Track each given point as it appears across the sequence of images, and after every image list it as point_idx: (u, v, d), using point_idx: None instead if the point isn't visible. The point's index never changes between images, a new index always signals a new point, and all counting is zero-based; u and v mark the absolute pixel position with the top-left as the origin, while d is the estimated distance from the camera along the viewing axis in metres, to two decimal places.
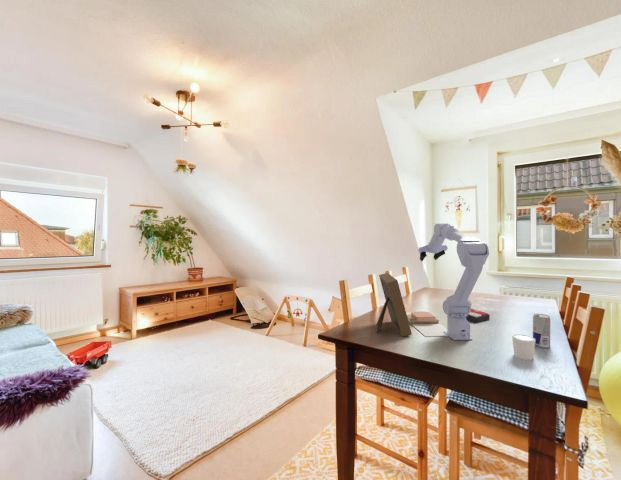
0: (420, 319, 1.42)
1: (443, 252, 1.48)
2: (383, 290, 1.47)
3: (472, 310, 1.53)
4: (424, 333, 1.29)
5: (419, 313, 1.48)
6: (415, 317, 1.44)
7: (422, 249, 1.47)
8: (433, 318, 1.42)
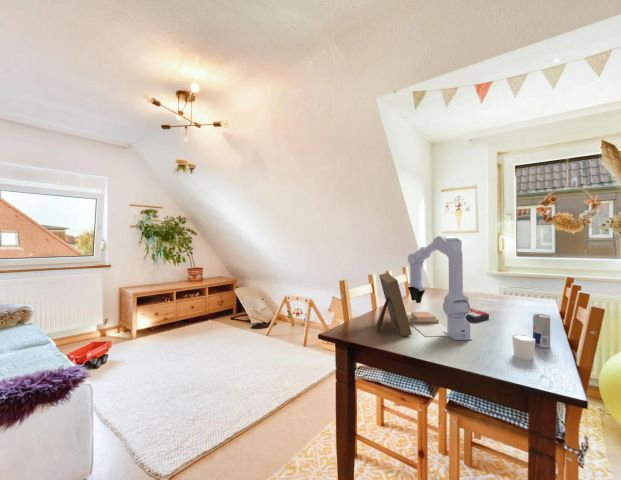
0: (420, 319, 1.42)
1: None
2: (383, 290, 1.47)
3: (472, 310, 1.53)
4: (424, 333, 1.29)
5: (419, 313, 1.48)
6: (415, 317, 1.44)
7: (420, 286, 1.48)
8: (433, 318, 1.42)
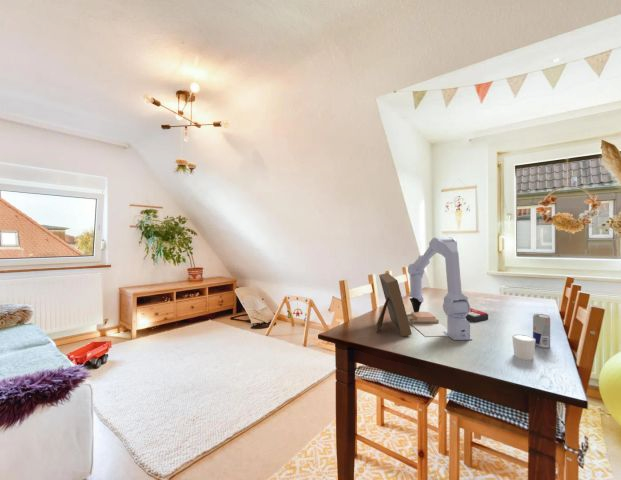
0: (420, 319, 1.42)
1: None
2: (383, 290, 1.47)
3: (471, 310, 1.54)
4: (424, 333, 1.29)
5: (419, 313, 1.48)
6: (415, 317, 1.44)
7: (420, 297, 1.49)
8: (433, 318, 1.42)
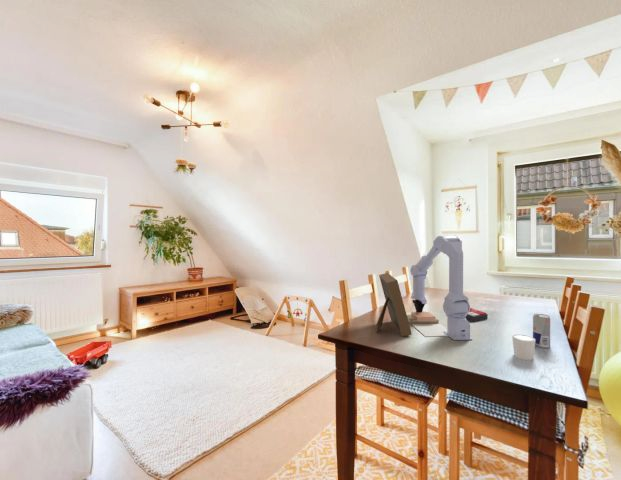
0: (420, 319, 1.42)
1: None
2: (383, 290, 1.47)
3: (470, 309, 1.54)
4: (424, 333, 1.29)
5: (419, 313, 1.48)
6: (415, 317, 1.44)
7: (423, 299, 1.45)
8: (433, 318, 1.42)
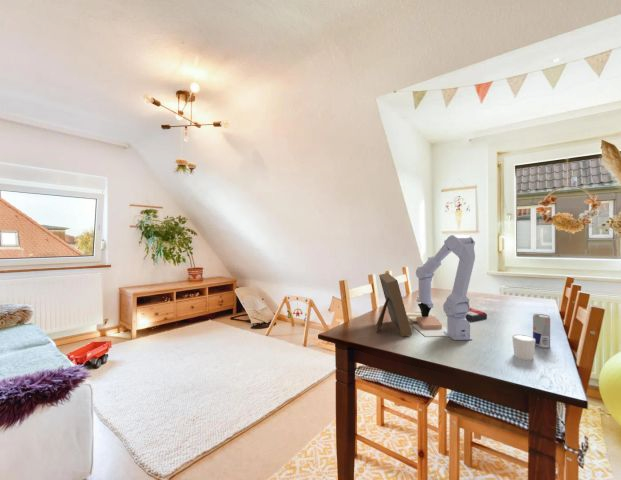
0: (426, 327, 1.35)
1: None
2: (383, 290, 1.47)
3: (470, 309, 1.55)
4: (424, 333, 1.29)
5: (425, 318, 1.40)
6: (420, 324, 1.37)
7: None
8: (439, 326, 1.35)
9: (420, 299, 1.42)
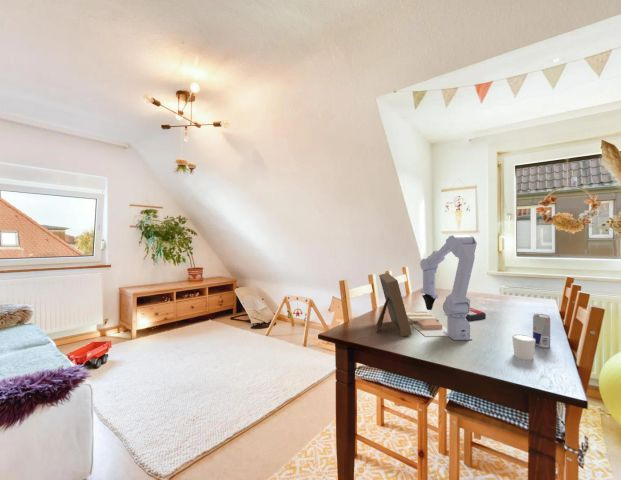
0: (426, 328, 1.34)
1: None
2: (383, 290, 1.47)
3: None
4: (424, 333, 1.29)
5: (425, 321, 1.40)
6: (421, 325, 1.36)
7: (434, 294, 1.40)
8: (440, 326, 1.34)
9: (424, 290, 1.44)
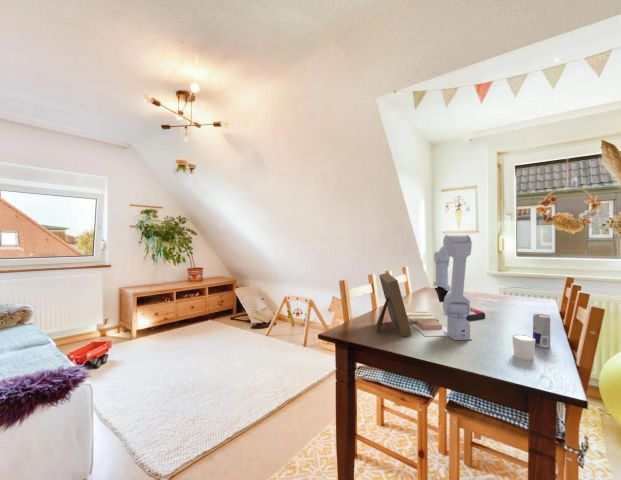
0: (426, 328, 1.34)
1: None
2: (383, 290, 1.47)
3: None
4: (424, 333, 1.29)
5: (425, 321, 1.40)
6: (421, 325, 1.36)
7: (447, 286, 1.43)
8: (440, 326, 1.34)
9: (437, 283, 1.47)
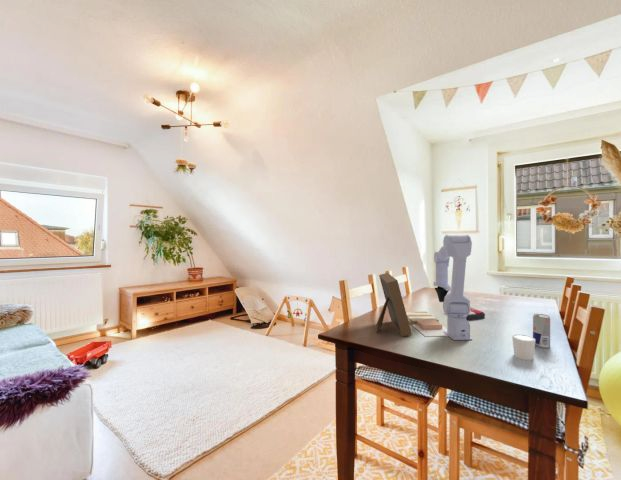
0: (426, 328, 1.34)
1: None
2: (383, 290, 1.47)
3: None
4: (424, 333, 1.29)
5: (425, 321, 1.40)
6: (421, 325, 1.36)
7: (447, 286, 1.43)
8: (440, 326, 1.34)
9: (437, 283, 1.47)
